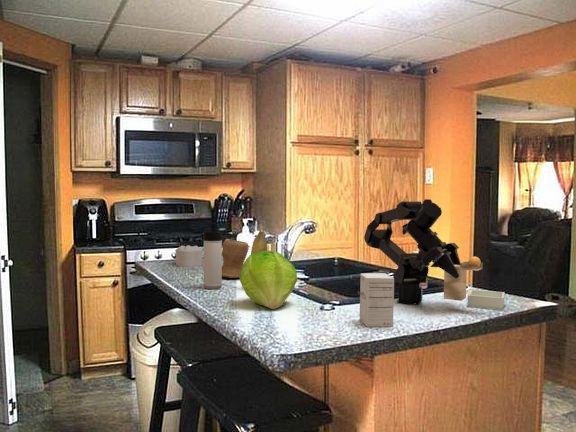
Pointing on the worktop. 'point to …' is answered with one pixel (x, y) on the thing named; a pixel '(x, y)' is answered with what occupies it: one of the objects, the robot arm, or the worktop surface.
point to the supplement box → (376, 299)
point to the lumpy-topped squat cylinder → (188, 256)
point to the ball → (474, 260)
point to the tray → (486, 299)
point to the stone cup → (233, 257)
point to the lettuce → (268, 278)
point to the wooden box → (458, 281)
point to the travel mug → (212, 260)
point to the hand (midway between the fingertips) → (460, 276)
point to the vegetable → (259, 243)
